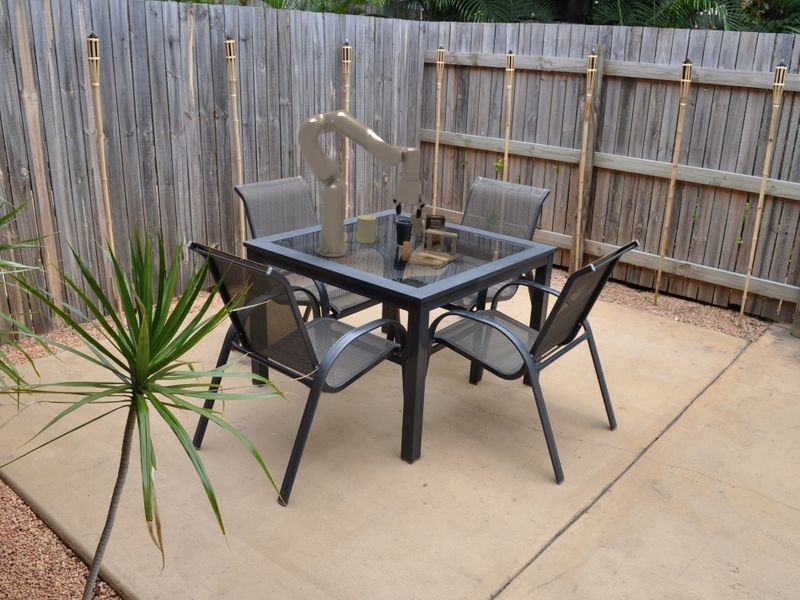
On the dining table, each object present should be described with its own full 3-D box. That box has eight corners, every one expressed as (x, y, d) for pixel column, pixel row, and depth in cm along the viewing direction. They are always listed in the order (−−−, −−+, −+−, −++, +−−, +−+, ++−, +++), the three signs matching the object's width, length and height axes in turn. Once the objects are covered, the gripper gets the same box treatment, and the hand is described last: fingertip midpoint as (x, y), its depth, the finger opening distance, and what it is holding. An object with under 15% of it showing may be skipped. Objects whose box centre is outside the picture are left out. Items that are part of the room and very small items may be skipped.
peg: (407, 261, 320) (408, 243, 318) (400, 260, 322) (402, 242, 319) (411, 259, 323) (412, 242, 321) (404, 258, 325) (405, 240, 322)
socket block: (437, 269, 313) (440, 242, 309) (408, 262, 319) (410, 236, 315) (455, 260, 328) (457, 234, 324) (427, 254, 334) (429, 228, 330)
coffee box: (423, 250, 339) (426, 216, 333) (421, 247, 345) (424, 213, 339) (442, 251, 340) (445, 217, 334) (440, 248, 346) (443, 214, 340)
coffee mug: (408, 231, 372) (410, 211, 369) (428, 232, 373) (429, 213, 370) (410, 237, 360) (411, 218, 356) (430, 239, 360) (432, 219, 357)
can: (374, 244, 344) (376, 219, 340) (355, 242, 344) (356, 217, 340) (375, 239, 352) (377, 214, 348) (356, 237, 352) (357, 213, 348)
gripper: (388, 175, 312) (386, 214, 318) (424, 180, 304) (422, 220, 310) (396, 173, 318) (394, 211, 324) (432, 178, 311) (430, 217, 316)
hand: (408, 216), depth 317 cm, fingers open, 9 cm apart
